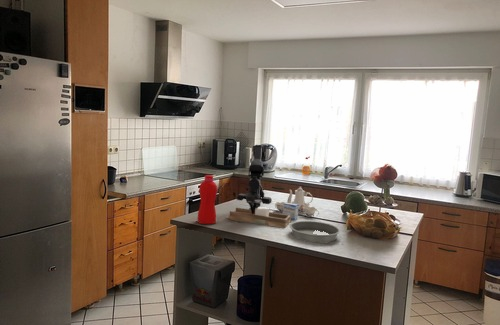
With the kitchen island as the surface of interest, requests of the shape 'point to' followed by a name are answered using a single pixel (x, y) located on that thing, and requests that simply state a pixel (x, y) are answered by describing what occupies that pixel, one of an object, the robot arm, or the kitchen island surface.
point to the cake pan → (307, 228)
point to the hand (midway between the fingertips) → (253, 214)
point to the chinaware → (299, 203)
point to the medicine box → (291, 210)
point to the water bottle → (207, 201)
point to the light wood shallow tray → (260, 218)
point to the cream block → (262, 211)
